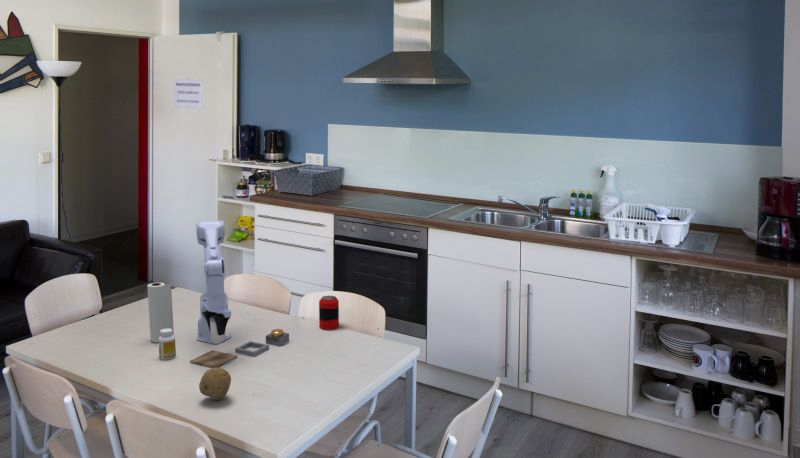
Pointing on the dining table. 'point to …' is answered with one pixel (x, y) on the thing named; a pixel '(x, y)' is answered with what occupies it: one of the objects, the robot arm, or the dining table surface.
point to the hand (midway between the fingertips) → (217, 332)
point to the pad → (213, 359)
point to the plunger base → (277, 339)
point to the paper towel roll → (159, 309)
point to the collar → (243, 350)
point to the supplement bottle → (166, 344)
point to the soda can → (329, 313)
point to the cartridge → (215, 331)
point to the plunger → (277, 332)
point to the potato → (215, 383)
